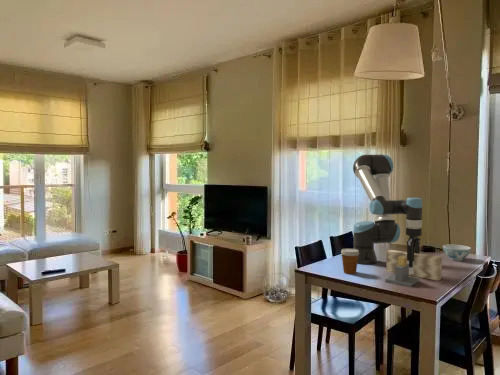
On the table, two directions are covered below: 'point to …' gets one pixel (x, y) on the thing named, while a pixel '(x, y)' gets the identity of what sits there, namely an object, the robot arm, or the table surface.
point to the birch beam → (417, 264)
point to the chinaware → (456, 251)
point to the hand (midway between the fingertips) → (413, 272)
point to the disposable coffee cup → (349, 260)
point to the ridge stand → (402, 274)
